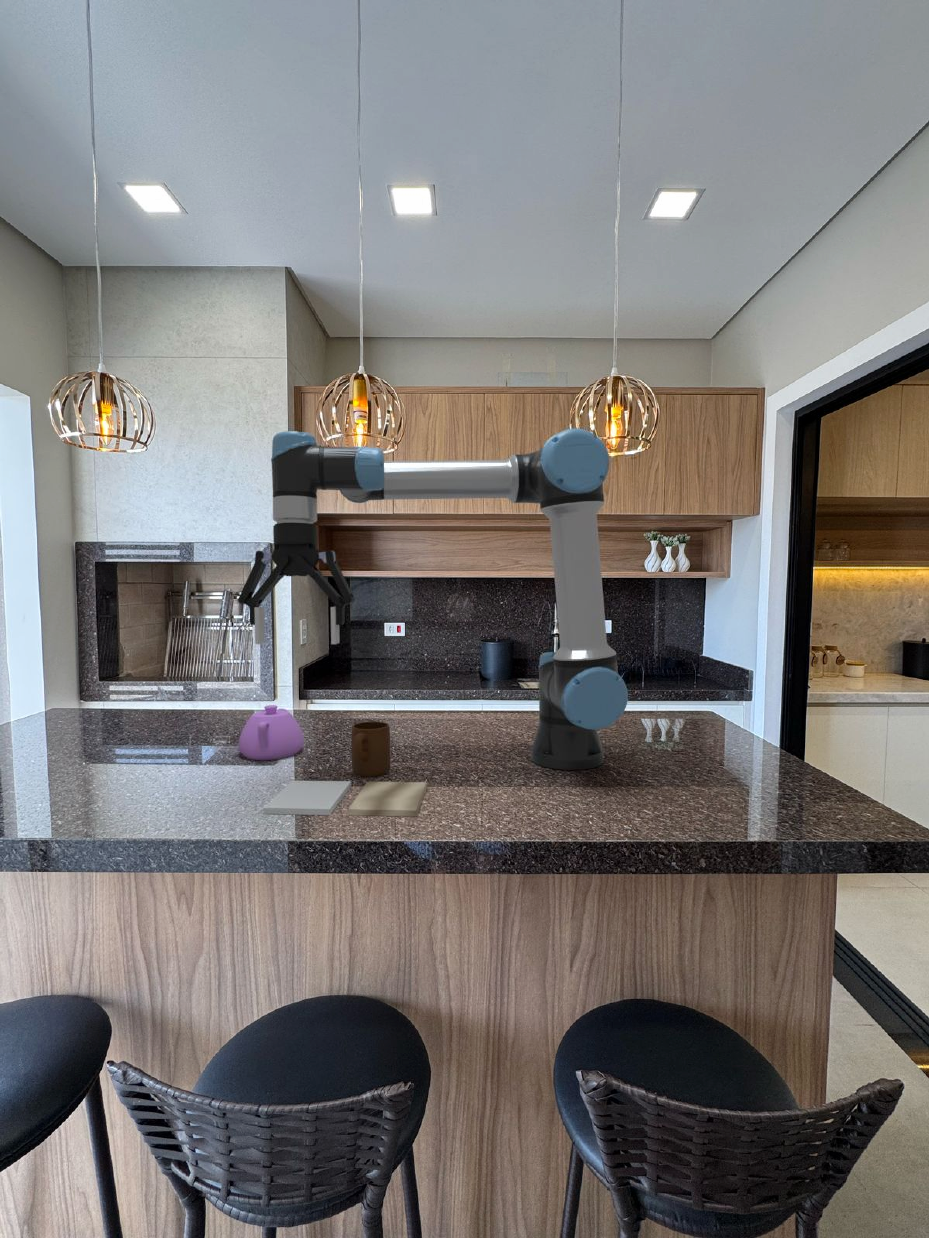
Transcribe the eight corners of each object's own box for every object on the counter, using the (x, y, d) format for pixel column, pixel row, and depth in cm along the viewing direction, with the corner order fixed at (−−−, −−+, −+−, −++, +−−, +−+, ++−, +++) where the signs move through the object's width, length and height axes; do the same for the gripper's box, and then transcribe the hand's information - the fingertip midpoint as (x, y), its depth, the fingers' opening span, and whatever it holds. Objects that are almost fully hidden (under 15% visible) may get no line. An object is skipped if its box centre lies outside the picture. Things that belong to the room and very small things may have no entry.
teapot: (312, 740, 147) (311, 696, 146) (294, 764, 127) (293, 713, 126) (253, 741, 146) (252, 697, 145) (227, 765, 126) (225, 715, 126)
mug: (375, 786, 112) (375, 735, 112) (337, 783, 114) (336, 734, 113) (395, 767, 124) (394, 721, 124) (359, 765, 126) (359, 720, 125)
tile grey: (351, 786, 112) (351, 781, 112) (330, 815, 98) (329, 808, 98) (292, 785, 113) (292, 780, 113) (263, 813, 99) (263, 807, 99)
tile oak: (426, 787, 111) (426, 782, 111) (416, 816, 97) (416, 810, 97) (367, 786, 112) (367, 781, 112) (348, 815, 98) (348, 809, 98)
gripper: (370, 524, 110) (371, 641, 111) (235, 526, 112) (238, 641, 113) (360, 520, 103) (362, 645, 104) (216, 521, 104) (219, 645, 105)
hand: (297, 643), depth 108 cm, fingers open, 13 cm apart
